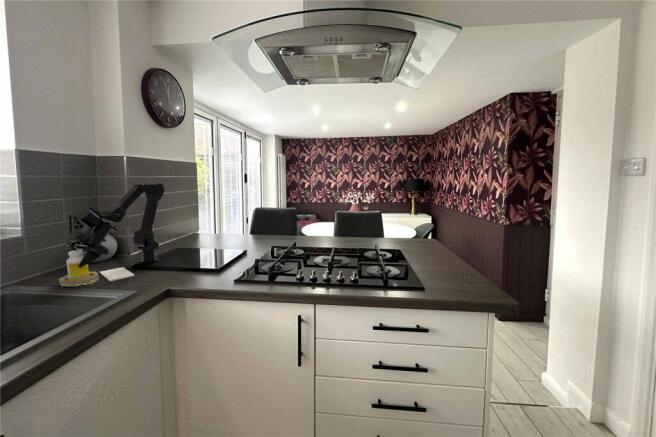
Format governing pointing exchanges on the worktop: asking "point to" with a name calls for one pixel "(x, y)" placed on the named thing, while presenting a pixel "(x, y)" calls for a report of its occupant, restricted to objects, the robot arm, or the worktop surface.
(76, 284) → the ring holder
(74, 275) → the supplement bottle
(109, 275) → the pad
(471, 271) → the worktop surface
